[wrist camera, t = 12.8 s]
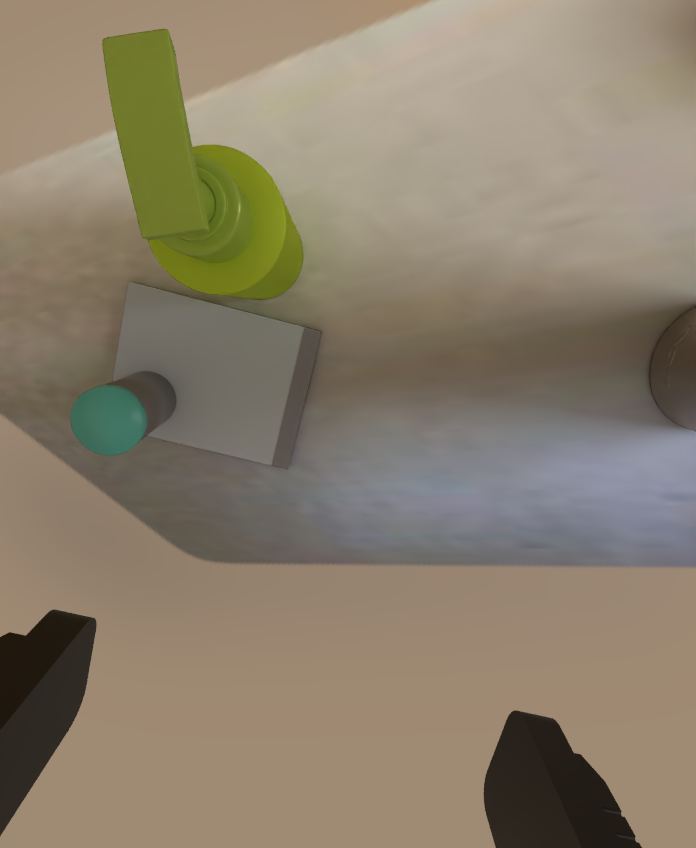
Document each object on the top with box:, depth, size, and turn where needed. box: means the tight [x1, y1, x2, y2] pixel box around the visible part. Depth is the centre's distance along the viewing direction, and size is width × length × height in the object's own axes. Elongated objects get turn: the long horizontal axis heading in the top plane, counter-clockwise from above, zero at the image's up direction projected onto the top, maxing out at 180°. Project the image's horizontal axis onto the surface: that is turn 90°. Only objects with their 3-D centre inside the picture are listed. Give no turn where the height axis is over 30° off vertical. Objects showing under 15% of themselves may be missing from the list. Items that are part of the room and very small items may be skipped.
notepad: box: [112, 282, 322, 469], centre depth 36 cm, size 13×10×1 cm
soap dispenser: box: [103, 29, 303, 299], centre depth 24 cm, size 6×7×20 cm
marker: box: [71, 371, 176, 456], centre depth 32 cm, size 4×4×7 cm
